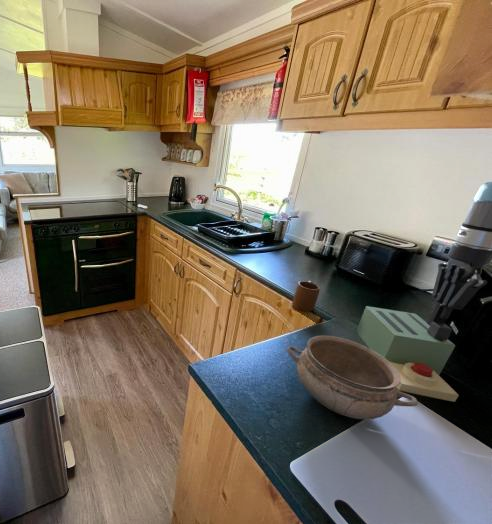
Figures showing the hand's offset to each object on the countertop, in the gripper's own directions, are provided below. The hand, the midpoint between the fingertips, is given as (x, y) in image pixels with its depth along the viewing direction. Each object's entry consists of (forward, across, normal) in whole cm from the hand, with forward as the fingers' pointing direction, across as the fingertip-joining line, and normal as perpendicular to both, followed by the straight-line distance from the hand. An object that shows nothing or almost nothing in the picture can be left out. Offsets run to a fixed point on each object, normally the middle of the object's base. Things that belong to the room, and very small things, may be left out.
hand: (434, 325), depth 81 cm
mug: (+12, -26, -25) cm, 38 cm away
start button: (+9, +11, -6) cm, 16 cm away
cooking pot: (+12, +25, -30) cm, 41 cm away
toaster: (+12, -3, -4) cm, 13 cm away
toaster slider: (+2, +2, 0) cm, 3 cm away
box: (+12, +11, -6) cm, 18 cm away
